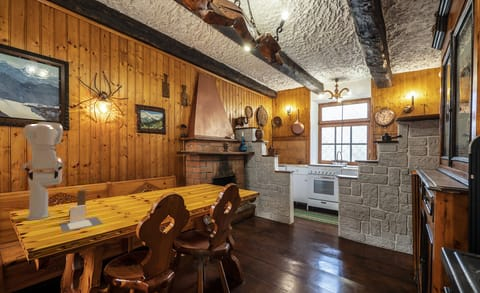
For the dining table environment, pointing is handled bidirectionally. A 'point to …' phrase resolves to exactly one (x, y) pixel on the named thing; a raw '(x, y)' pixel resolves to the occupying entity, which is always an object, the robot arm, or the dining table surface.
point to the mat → (80, 224)
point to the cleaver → (81, 198)
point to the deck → (77, 213)
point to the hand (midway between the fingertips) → (43, 179)
